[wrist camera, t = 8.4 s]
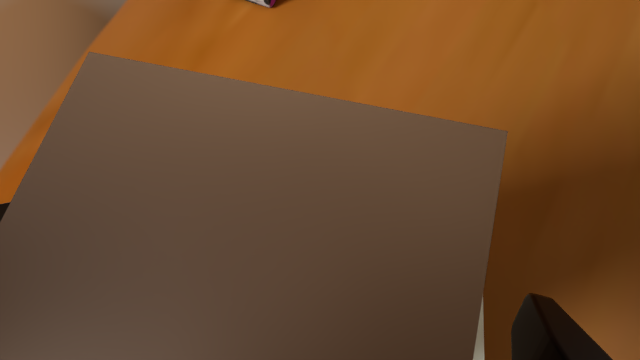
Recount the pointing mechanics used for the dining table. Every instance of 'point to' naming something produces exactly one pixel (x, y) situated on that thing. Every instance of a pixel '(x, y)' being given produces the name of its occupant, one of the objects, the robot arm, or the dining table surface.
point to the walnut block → (244, 225)
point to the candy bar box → (263, 2)
